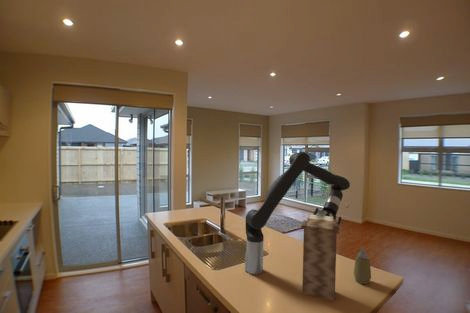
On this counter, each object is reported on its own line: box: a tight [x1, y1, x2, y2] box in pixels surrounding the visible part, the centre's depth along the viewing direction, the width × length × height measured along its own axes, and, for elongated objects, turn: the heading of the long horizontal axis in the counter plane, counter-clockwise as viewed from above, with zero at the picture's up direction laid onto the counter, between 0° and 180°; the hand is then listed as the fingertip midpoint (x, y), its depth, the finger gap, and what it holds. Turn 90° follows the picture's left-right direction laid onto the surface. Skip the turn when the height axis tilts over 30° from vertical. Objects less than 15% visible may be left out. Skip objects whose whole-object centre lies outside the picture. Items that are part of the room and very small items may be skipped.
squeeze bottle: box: [353, 246, 372, 285], centre depth 123 cm, size 8×8×18 cm
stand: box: [301, 219, 340, 302], centre depth 112 cm, size 16×9×32 cm, turn 68°
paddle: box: [306, 209, 333, 229], centre depth 116 cm, size 11×18×4 cm, turn 158°
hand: (322, 228), depth 128 cm, fingers open, 8 cm apart
